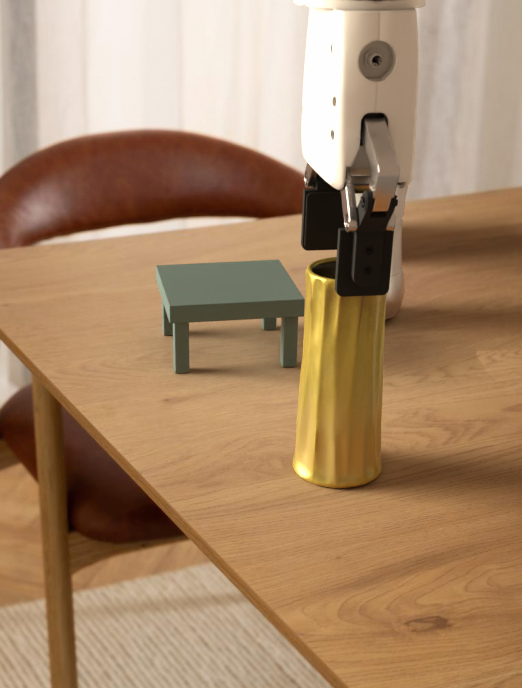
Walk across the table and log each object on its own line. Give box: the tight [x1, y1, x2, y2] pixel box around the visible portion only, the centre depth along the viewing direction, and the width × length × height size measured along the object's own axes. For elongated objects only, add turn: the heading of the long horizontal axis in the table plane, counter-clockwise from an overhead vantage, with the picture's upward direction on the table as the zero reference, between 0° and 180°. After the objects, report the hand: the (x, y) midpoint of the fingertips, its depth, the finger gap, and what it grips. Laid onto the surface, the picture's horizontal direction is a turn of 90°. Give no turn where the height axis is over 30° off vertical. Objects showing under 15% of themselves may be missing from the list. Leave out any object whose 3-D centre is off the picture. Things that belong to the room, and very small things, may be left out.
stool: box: [155, 259, 305, 374], centre depth 101 cm, size 11×11×6 cm
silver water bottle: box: [352, 175, 409, 320], centre depth 104 cm, size 6×7×20 cm
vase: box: [291, 256, 386, 489], centre depth 78 cm, size 6×6×14 cm
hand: (342, 270), depth 75 cm, fingers open, 9 cm apart
